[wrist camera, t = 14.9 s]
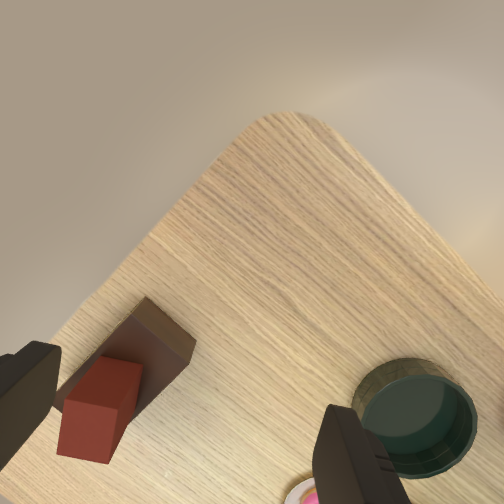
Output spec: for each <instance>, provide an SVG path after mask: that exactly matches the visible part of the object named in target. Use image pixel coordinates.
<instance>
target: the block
mask: <svg viewBox="0 0 504 504" xmlns="http://www.w3.org/2000/svg"><path fill="white" fill-rule="evenodd" d="M195 344H196V340H195V339H194V338H193V337H191V336H190V335H189V334H188V333H187V332H186V331H185V330H183V329H182V328H181V327H180V326H179V325H178V324H177V323H175V322H174V321H173V320H172V319H171V318H170V317H169V316H167V315H166V314H165V313H164V312H163V311H162V310H161V309H159V308H158V307H157V306H156V305H155V304H154V303H153V302H152V301H150V300H149V299H148V298H147V297H144V298H143V300H142V301H141V302H140V303H139V304H138V305H137V306H136V307H135V308H134V309H133V310H132V311H131V312H130V313H129V314H128V315H127V316H126V317H125V318H124V320H123V321H122V322H121V323H120V324H119V325H118V326H117V327H116V328H115V329H114V330H113V331H112V332H111V333H110V334H109V335H108V336H107V337H106V338H105V339H104V341H103V342H102V343H101V344H100V345H99V346H98V347H97V348H96V349H95V350H94V351H93V352H92V353H91V354H90V355H89V356H88V357H87V358H86V359H85V361H84V362H83V363H82V364H81V365H80V366H79V367H78V368H77V369H76V370H75V371H74V372H73V373H72V374H71V375H70V376H69V378H68V379H67V380H66V381H65V382H64V383H63V384H62V385H61V387H60V388H59V389H58V390H57V391H56V396H55V399H54V402H53V405H52V406H54V407H55V408H56V409H57V410H59V411H60V412H61V413H63V407H64V400H65V398H66V397H67V396H68V394H69V393H70V392H71V391H72V389H73V388H74V387H75V386H76V385H77V383H78V382H79V381H80V380H81V379H82V377H83V376H84V375H85V374H86V372H87V371H88V370H89V369H90V368H91V366H92V365H93V364H94V363H95V361H96V360H97V359H98V358H99V357H100V356H104V357H109V358H114V359H119V360H123V361H128V362H133V363H138V364H143V370H142V375H141V380H140V386H139V391H138V396H137V401H136V407H135V411H134V413H133V415H132V417H131V419H130V421H129V423H130V422H131V421H132V420H133V419H134V418H135V417H136V416H137V415H138V414H139V413H140V412H141V411H142V410H143V409H144V408H145V407H146V406H147V405H148V404H149V403H150V402H151V401H152V400H153V399H154V398H155V397H156V396H157V395H158V394H159V393H160V392H161V391H163V390H164V389H165V388H166V387H167V386H168V385H169V384H170V383H171V382H172V381H173V380H174V379H175V378H176V377H177V376H178V375H179V374H180V373H181V372H182V371H183V370H184V369H185V368H186V367H187V366H188V365H189V363H190V360H191V357H192V354H193V351H194V348H195ZM129 423H128V424H129Z"/></svg>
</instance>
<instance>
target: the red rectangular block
mask: <svg viewBox="0 0 504 504" xmlns="http://www.w3.org/2000/svg"><path fill="white" fill-rule="evenodd" d="M142 370H143V364H138V363H133V362H128V361H123V360H119V359H114V358H109V357H104V356H100V357H99V358H98V359H97V360H96V361H95V363H94V364H93V365H92V366H91V368H90V369H89V370H88V371H87V372H86V374H85V375H84V376H83V377H82V379H81V380H80V381H79V382H78V383H77V385H76V386H75V387H74V388H73V389H72V391H71V392H70V393H69V394H68V396H67V397H66V398H65V400H64V407H63V413H62V420H61V427H60V433H59V440H58V447H57V455H62V456H67V457H72V458H77V459H82V460H87V461H93V462H98V463H103V464H109V462H110V460H111V458H112V456H113V454H114V452H115V450H116V448H117V446H118V444H119V442H120V440H121V438H122V436H123V433H124V431H125V429H126V427H127V425H128V423H129V421H130V419H131V417H132V415H133V413H134V411H135V407H136V401H137V396H138V391H139V386H140V380H141V375H142Z"/></svg>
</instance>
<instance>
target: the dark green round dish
mask: <svg viewBox="0 0 504 504" xmlns="http://www.w3.org/2000/svg"><path fill="white" fill-rule="evenodd" d="M352 409H355V411H356V412H357V415H358V417H359V419H360V422H361V424H362V427H363V429H366V430H371V431H372V433H373V434H374V435H375V436H376V437H377V438H378V439H379V440H380V441H381V442H382V443H383V445H384V447H385V449H386V451H387V453H388V456H389V458H390V461H391V462H392V464H393V466H394V468H395V473H397V475H398V477H401V478H406V479H422V478H429V477H432V476H435V475H438V474H440V473H443V472H446V471H447V470H448V469H450V468H451V467H453V466H454V465H456V464H457V463H458V462H460V461H461V459H462V458H463V457H464V456H465V455H466V453H467V452H468V451H469V450H470V448H471V446H472V444H473V441H474V439H475V436H476V433H477V417H478V416H477V412H476V409H475V407H474V404H473V401H472V399H471V398H470V396H469V395H468V394H467V393H466V392H465V391H464V389H463V388H462V387H461V386H460V385H459V384H458V383H457V382H456V381H455V380H454V379H453V378H452V377H451V376H450V375H449V374H448V373H447V372H446V371H444V370H443V369H442V368H441V367H439V366H437V365H436V364H434V363H431V362H429V361H426V360H422V359H416V358H404V359H397V360H393V361H390V362H387V363H385V364H383V365H381V366H379V367H377V368H376V369H374V370H373V371H372V372H370V373H369V374H368V375H367V376H366V377H365V378H364V379H363V381H362V382H361V383H360V385H359V386H358V388H357V390H356V392H355V395H354V398H353V402H352Z"/></svg>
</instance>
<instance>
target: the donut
mask: <svg viewBox="0 0 504 504" xmlns="http://www.w3.org/2000/svg"><path fill="white" fill-rule="evenodd" d="M284 504H319V502H318V496H317V491H316V486H315V481H314V477H313V478H310V479H307V480H305V481H303V482H301V483H300V484H298V485H297V486H296V487H294V488H293V489H292V490H291V492H290V493H289V494H288V496H287V498H286V500H285V502H284Z"/></svg>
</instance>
